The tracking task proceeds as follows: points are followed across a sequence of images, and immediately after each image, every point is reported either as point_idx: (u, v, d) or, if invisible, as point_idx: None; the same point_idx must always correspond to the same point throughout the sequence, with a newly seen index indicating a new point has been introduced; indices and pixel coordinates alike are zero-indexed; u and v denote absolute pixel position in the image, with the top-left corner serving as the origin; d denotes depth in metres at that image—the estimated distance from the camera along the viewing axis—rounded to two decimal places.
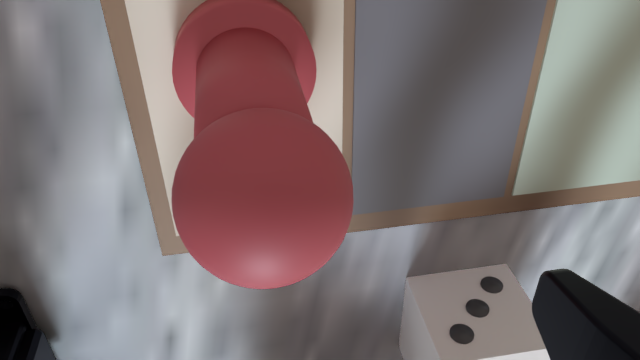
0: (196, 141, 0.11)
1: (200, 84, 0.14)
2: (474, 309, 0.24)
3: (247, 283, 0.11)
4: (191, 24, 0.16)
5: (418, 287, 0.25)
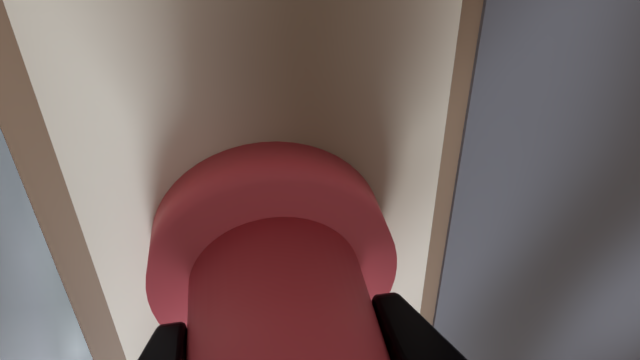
0: None
1: None
2: None
3: None
4: (179, 217, 0.08)
5: None
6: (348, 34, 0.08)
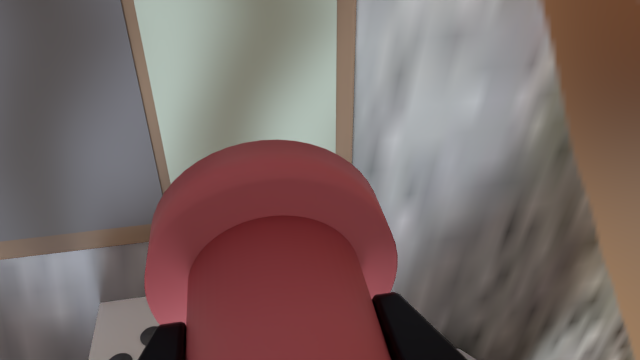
0: None
1: None
2: (148, 337, 0.23)
3: None
4: (178, 215, 0.08)
5: (106, 312, 0.24)
6: None
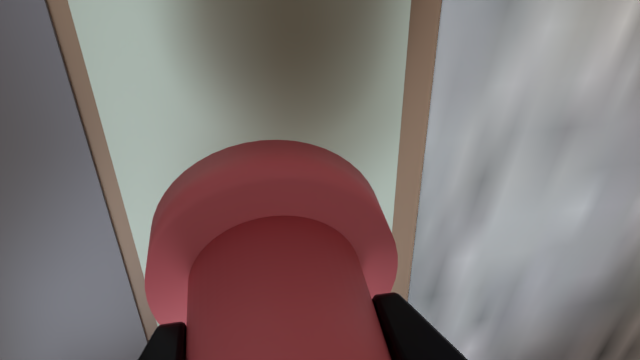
0: None
1: None
2: None
3: None
4: (179, 216, 0.08)
5: None
6: None
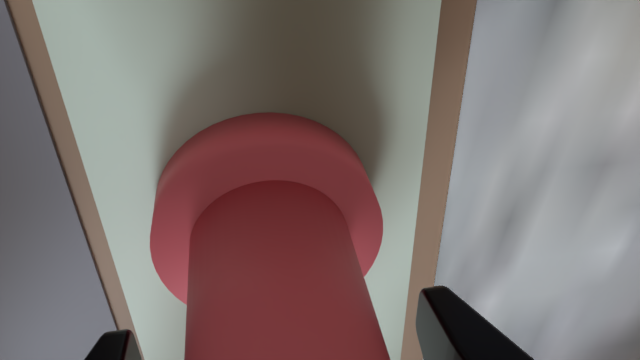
0: None
1: (194, 314, 0.08)
2: None
3: None
4: (181, 179, 0.09)
5: None
6: None
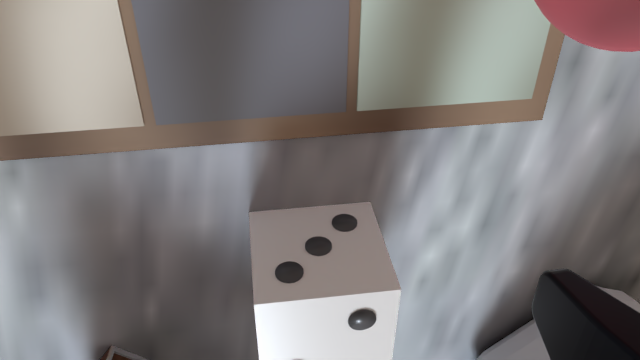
0: None
1: None
2: (314, 247, 0.20)
3: None
4: None
5: (258, 222, 0.21)
6: None
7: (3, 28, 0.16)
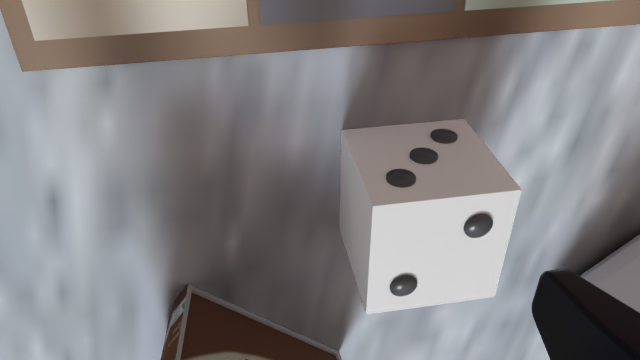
0: None
1: None
2: (419, 156, 0.19)
3: None
4: None
5: (355, 138, 0.21)
6: None
7: None
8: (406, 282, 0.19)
